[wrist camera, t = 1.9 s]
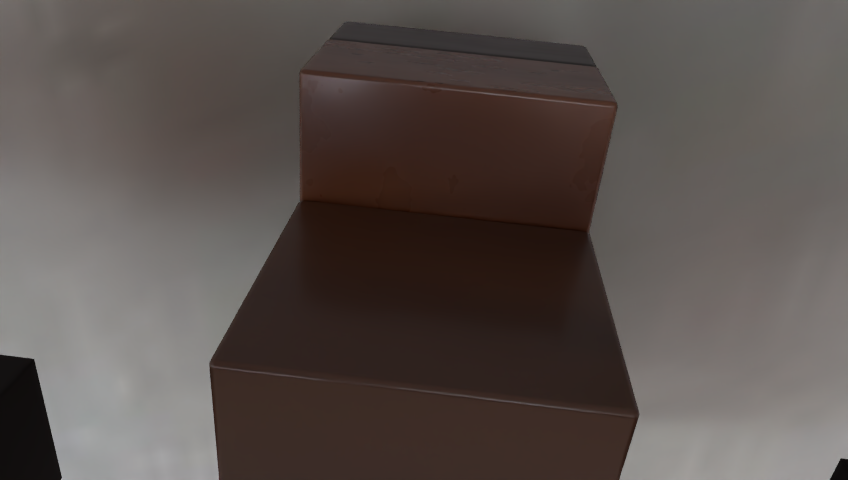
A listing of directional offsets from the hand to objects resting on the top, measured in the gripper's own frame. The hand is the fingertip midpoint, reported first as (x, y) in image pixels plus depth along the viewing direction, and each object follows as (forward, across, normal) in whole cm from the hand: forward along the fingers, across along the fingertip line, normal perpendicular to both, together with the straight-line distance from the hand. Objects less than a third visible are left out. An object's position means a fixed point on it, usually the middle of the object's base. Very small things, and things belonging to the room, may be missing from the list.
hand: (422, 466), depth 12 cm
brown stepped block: (+5, 0, 0) cm, 5 cm away
